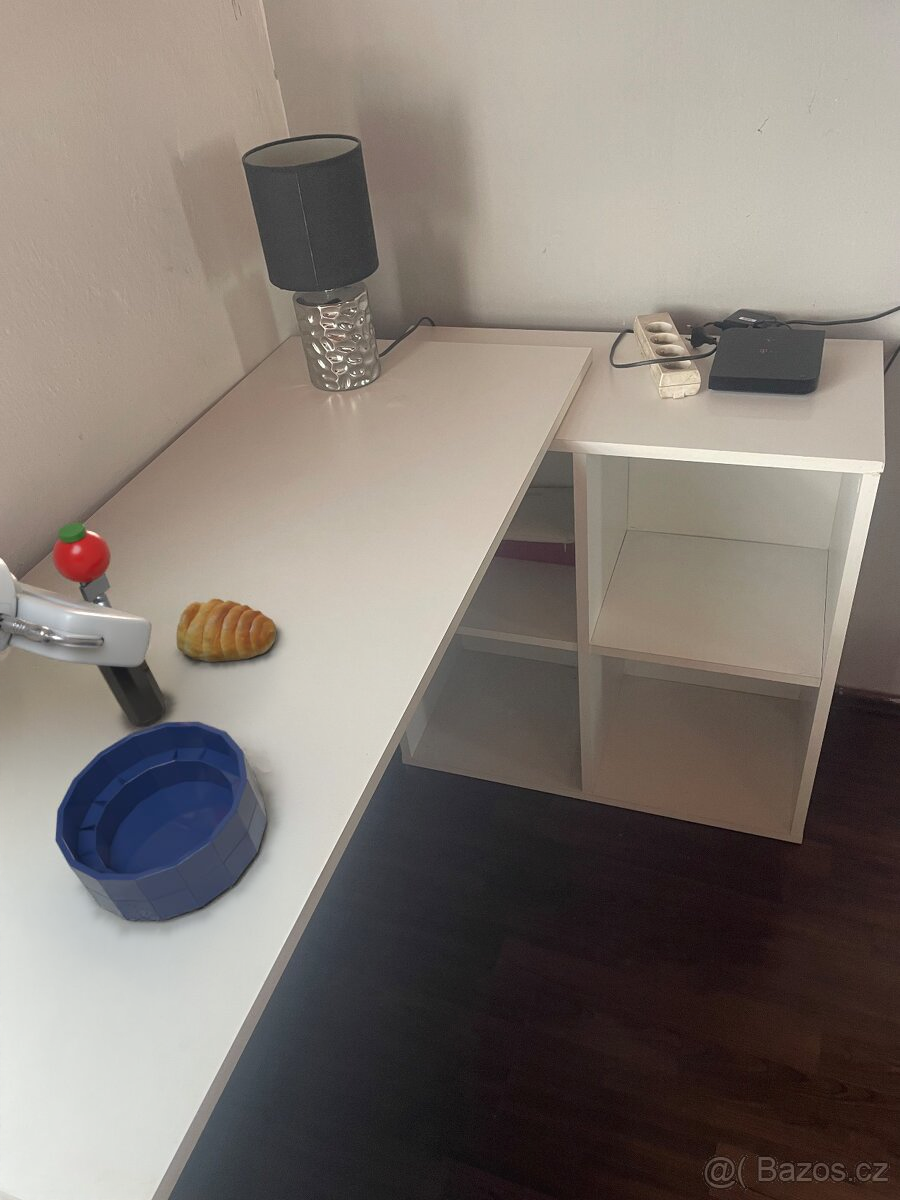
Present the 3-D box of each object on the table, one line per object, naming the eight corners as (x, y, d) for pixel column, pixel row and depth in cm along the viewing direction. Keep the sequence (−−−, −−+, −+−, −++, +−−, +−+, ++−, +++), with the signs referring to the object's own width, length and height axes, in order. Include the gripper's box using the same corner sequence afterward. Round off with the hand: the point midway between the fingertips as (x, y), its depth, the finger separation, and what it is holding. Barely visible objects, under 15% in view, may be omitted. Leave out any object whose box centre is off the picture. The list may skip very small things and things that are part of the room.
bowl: (132, 963, 60) (98, 920, 56) (63, 839, 69) (29, 794, 65) (300, 841, 66) (280, 794, 62) (216, 741, 75) (194, 694, 71)
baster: (146, 729, 76) (69, 549, 64) (111, 716, 78) (30, 538, 66) (178, 698, 79) (110, 520, 67) (143, 686, 81) (71, 510, 69)
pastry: (289, 621, 86) (279, 592, 83) (264, 670, 81) (252, 641, 78) (205, 616, 88) (193, 587, 86) (175, 663, 83) (161, 635, 81)
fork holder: (137, 733, 77) (97, 663, 71) (121, 711, 79) (81, 641, 73) (174, 711, 78) (137, 640, 73) (157, 690, 81) (120, 620, 75)
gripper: (67, 593, 55) (210, 609, 68) (-128, 537, 64) (31, 561, 76) (46, 689, 55) (192, 687, 68) (-146, 621, 64) (16, 630, 76)
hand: (105, 620), depth 72 cm, fingers open, 3 cm apart
